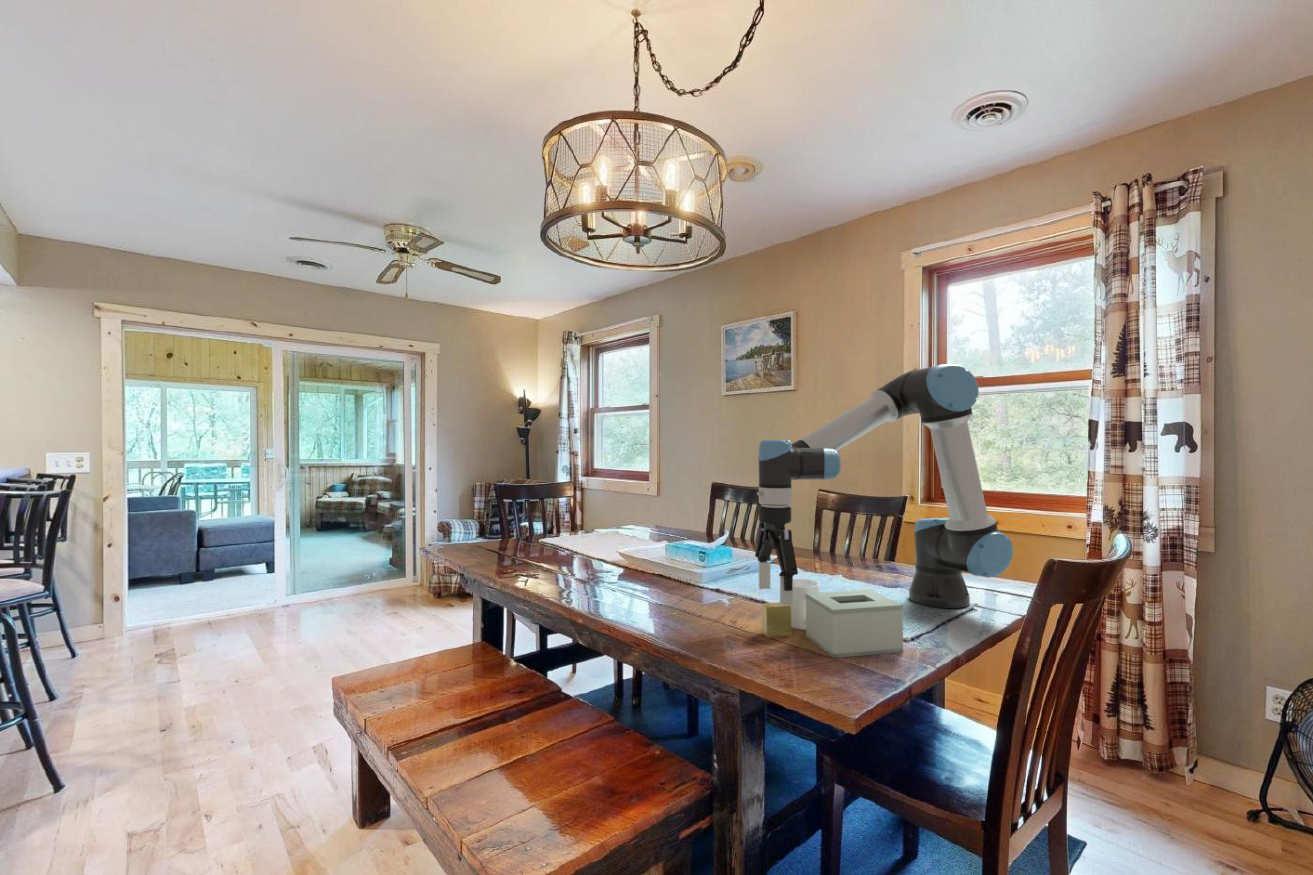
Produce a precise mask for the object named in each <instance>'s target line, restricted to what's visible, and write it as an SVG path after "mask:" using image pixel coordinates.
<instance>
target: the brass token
mask: <svg viewBox="0 0 1313 875" xmlns="http://www.w3.org/2000/svg"><path fill="white" fill-rule="evenodd" d="M761 626H762V627H761V629H762V630H761V631H762V632H761V633H762V634H763V635H764V636H765V637H766V638H778V637H788V636H789V637H791V636H792V628H791V605H780V601H779V602H765V603H761Z"/></svg>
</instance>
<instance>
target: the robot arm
mask: <svg viewBox="0 0 1313 875" xmlns="http://www.w3.org/2000/svg"><path fill="white" fill-rule="evenodd" d="M978 397H979V384H978V381H977V378H975V376H974V375H973V372H971V371H970V370H969V369H967V368H965V367H964V366H962V365H960V364H955V363H951V364H950V363H949V364H938V365H934V366H930V367H926V368H920V369H913V370H909V371H907V372H905V373H903V374H900V375H899V376H897V377H896V378H893V379H892V380H890V381H889V382H887V383H885V384H884V385H882V386H881V387H880V388H878V389H875V390H874V391H873V392H872V393H871V396H870V398H868V399H866V400H865V401H863V402H861V403H860V404H858V405H856V406H854V407H853V408H851V409H849V410H847V411H845V412H844V413H842V414H841V415H839V416H838V417H836V418H834V419H832V420H830V421H829V422H827V423H825V424H824V425H822V426H820V427H819V428H817V429H815V430H813V431H812V432H810V433H809V434H806V435H805V436H803V437H802V438H800V439H799V440H797V441H794V442H793V443H792V441H791V440H789V439H763V440H761V441H760V442H759V447H758V458H757V461H758V491H757V492H756V495H757V496H758V503H759V504H760V506H758V521H759V532H758V538H757V542H756V548H755V553H754V556H755V558H757V561H758V589H759V590H770V589H771V561H772V558H771V554H772V553H773V550H775V553H776V557H777V561H778V564H779V568H780V572H779V573H778V576H779V602H780V605H793V579H794V576H795V575H798V574H799V571H798V566H797V561H796V560H797V559H796V555H795V550H794V544H793V536H792V535H793V534H792V533H793V532H792V530H791V529H786V527H785V526H786V524H790V523H791V522H792V507H791V506H790V505H792V500H793V498H792V497H793V496H792V493H793V492H792V480H793V481H797V480H801V481H802V480H807V481H809V480H810V481H811V480H812V481H814V480H820V481H821V480H822V481H825V480H834V479H835V478H837V477H838V475H839V474H840V471H841V468H842V467H841V464H842V461H841V457H840V454H839V452H838V451H839V450H841V449H842V448H844V447H846V446H848V445H849V444H850V443H853V442H855V441H856V440H857V439H859V438H861V437H863V436H864V435H866V434H868V433H869V432H871V431H873V430H874V429H876V428H878V427H880V426H881V425H883V424H885V423H886V422H888V423H893V422H895V421H897V420H899V419H900V418H903V417H905V416H906V417H907V416H910V415H917V414H919V417H920V420H921V424H922V425H923V426H926V427H927V428H928V429H929V432H930V435H931V440H932V444H933V445H932V446H933V449H934V452H935V453H934V454H935V458H936V462H937V467H938V470H939V476H940V480H941V485H942V489H943V493H944V494H943V495H944V499H945V503H946V507H947V512H948V517H934V518H933V517H931V518H919V519H918V520H916V522H915V525H914V550H915V551H914V556H915V558H914V559H915V572H914V575H913V577H912V580H911V584H910V587H909V589H908V598H909V599H910V600H911V601H912V602H914V603H917V604H918V605H919V604H920V605H923V606H928V607H933V608H943V609H961V608H966V607H969V606H970V604H971V596H970V593H969V591H968V588H967V585H966V581H965V580H964V577H963V572H964V573H968V574H970V575H973V576H974V577H982V578H989V579H990V578H995V577H998V576H1000V575H1001V574H1003V573H1004V572H1005V571H1006V570H1007V569H1008V567H1009V565H1010V564H1011V563H1012V560H1013V557H1014V545H1013V542H1012V540H1011V539H1010V537H1008V536H1007V535H1006V534H1005V533H1003V532H1001V531H999V528H998V523H997V520H996V518H995V517H993V516H992V515H990V514H989V513H988V511H987V506H986V502H985V497H984V496H985V495H984V492H983V487H982V484H981V479H980V474H979V473H980V472H979V469H978V465H977V460H976V456H975V451H974V450H975V449H974V447H973V441H972V438H971V434H970V427H969V424H968V421H969V419H970V418H971V417H972V415H973V414H974V412H973V409H972V407H973V406H974V405H975V404H976V402H977V398H978Z"/></svg>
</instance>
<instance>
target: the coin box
mask: <svg viewBox="0 0 1313 875" xmlns="http://www.w3.org/2000/svg"><path fill="white" fill-rule="evenodd" d="M903 617H904V613H903V604H901V603H899V602H897V601H895V600H893V599H891V598H889V597H886V596H885V595H882V594H881V593H878V592H876V591H874V590H871V589H870V588H869V589H855V590H854V589H853V590H837V591H823V592H822V591H821V592H820V591H819V593H806V630H805V632H806V638H807V639H809V640H810V641H811V642H813V644H815V645H816V646H818V648H820V649H822V650H823V651H824V652H825V653H826V654H828V656H831V657H832V659H837V658H838V659H839V658H849V657H859V656H862V657H863V656H872V655H873V656H874V655H885V654H896V653H897V654H899V653H903V652H904V618H903Z"/></svg>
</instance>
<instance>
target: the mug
mask: <svg viewBox="0 0 1313 875" xmlns="http://www.w3.org/2000/svg"><path fill="white" fill-rule="evenodd" d="M806 593H820V583H819V582H818V581H816V580H814V579H813V580H812V579H808V578H793V605H791V629H795V630H800V631H802V630H803V631H806Z"/></svg>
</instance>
